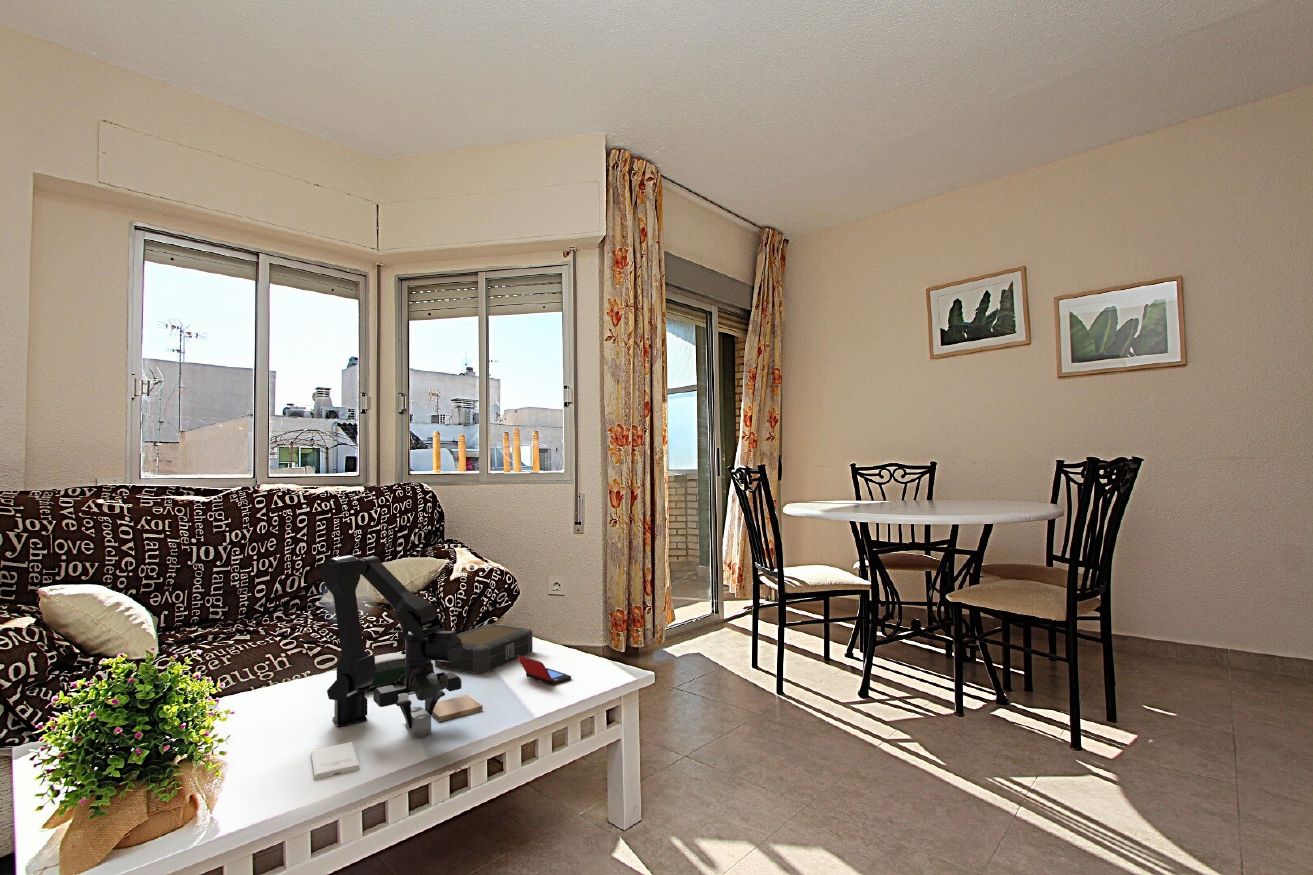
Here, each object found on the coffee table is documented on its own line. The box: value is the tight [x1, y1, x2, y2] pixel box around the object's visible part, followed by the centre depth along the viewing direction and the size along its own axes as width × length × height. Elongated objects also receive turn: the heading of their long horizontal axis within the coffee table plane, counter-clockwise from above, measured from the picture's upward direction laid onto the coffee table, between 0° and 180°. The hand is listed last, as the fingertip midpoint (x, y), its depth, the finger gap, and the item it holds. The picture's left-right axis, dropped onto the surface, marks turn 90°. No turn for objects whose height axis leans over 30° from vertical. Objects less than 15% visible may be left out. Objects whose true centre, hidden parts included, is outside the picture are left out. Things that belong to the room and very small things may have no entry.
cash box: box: [434, 623, 534, 675], centre depth 208 cm, size 25×20×8 cm
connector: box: [405, 706, 432, 739], centre depth 154 cm, size 4×12×4 cm, turn 38°
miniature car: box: [364, 652, 405, 693], centre depth 185 cm, size 9×18×8 cm, turn 128°
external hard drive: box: [310, 741, 360, 781], centre depth 137 cm, size 2×8×12 cm
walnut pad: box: [431, 694, 484, 723], centre depth 165 cm, size 11×10×1 cm
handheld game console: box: [517, 655, 572, 686], centre depth 187 cm, size 12×11×7 cm
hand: (418, 725), depth 153 cm, fingers closed on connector, 4 cm apart
